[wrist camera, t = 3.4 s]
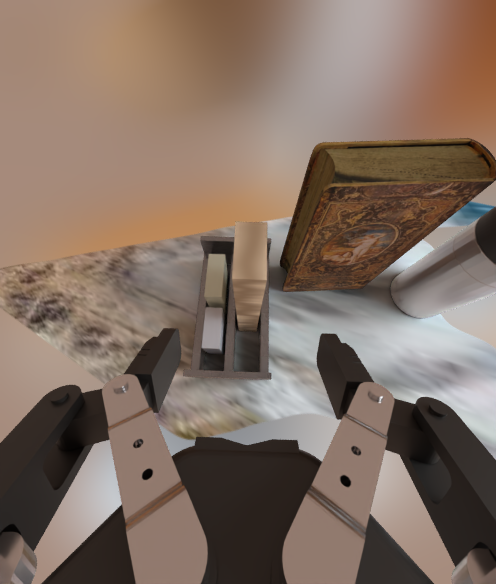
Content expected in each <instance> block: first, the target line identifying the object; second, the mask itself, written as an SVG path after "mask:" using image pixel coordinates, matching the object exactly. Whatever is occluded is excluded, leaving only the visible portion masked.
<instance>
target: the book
mask: <svg viewBox="0 0 496 584" xmlns="http://www.w3.org/2000/svg"><path fill="white" fill-rule="evenodd" d="M495 180H496V160H495V158H494V157H493V155H492V154H491V153H490V151H489V150H488V149H487V148H486V147H484V146H483V145H482V144H480V143H479V142H477V141H475V140H472V139H469V138H460V139H427V140H395V141H360V142H323V143H320V144H318V145H316V146H315V148H314V150H313V152H312V154H311V157H310V161H309V164H308V167H307V171H306V174H305V177H304V181H303V184H302V188H301V191H300V194H299V198H298V202H297V205H296V208H295V212H294V215H293V218H292V222H291V225H290V228H289V232H288V235H287V239H286V242H285V245H284V249H283V252H282V256H281V259H280V266H281V267H283V268H284V269H285V270H286V272H287V277H286V279H285V282H284V285H283V291H284V292H295V291H319V290H341V289H361V288H363V287H364V286H365V285H366V284H368V283H369V282H370V281H371V280H373V279H374V278H375V277H376V276H378V275H379V274H380V273H381V272H383V271H384V270H385V269H386V268H388V267H389V266H390V265H391V264H393V263H394V262H395V261H396V260H397V259H399V258H400V257H401V256H402V255H404V254H405V253H406V252H407V251H409V250H410V249H411V248H412V247H414V246H415V245H416V244H417V243H419V242H420V241H421V240H422V239H424V238H425V237H426V236H427V235H428V234H430V233H431V232H432V231H433V230H435V229H436V228H437V227H438V226H440V225H441V224H442V223H443V222H445V221H446V220H447V219H448V218H450V217H451V216H452V215H453V214H455V213H456V212H457V211H458V210H460V209H461V208H462V207H463V206H464V205H466V204H467V203H468V202H469V201H471V200H472V199H473V198H474V197H475V196H477V195H478V194H479V193H481V192H482V191H483V190H484V189H486V188H487V187H488V186H489V185H491V184H492V183H493V182H494V181H495Z"/></svg>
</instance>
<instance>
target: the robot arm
mask: <svg viewBox="0 0 496 584" xmlns="http://www.w3.org/2000/svg"><path fill="white" fill-rule="evenodd" d="M390 289H391V295H392V298H393V300H394V302H395V304H396V305H397V306H398V307H399V308H400V309H401V310H402V311H403V312H405V313H406V314H408V315H410V316H412V317H416V318H429V317H432V316H435V315H438V314H441V313H443V312H446V311H449V310H452V309H455V308H458V307H461V306H464V305H466V304H469V303H472V302H475V301H478V300H481V299H483V298H486V297H489V296H491V295H495V294H496V207H494V208H493V209H491V210H490V211H489V212H487V213H486V214H484V215H483V216H481V217H480V218H479V219H477V220H476V221H474V222H473V223H471V224H470V225H469V226H467V227H466V228H464V229H463V230H461V231H460V232H459V233H457V234H456V235H455V236H453V237H452V238H450V239H449V240H448V241H446V242H445V243H443V244H442V245H440V246H439V247H437V248H436V249H435V250H433V251H432V252H430V253H429V254H427V255H426V256H425V257H423V258H422V259H420V260H419V261H417V262H416V263H415V264H413V265H412V266H410V267H409V268H407V269H406V270H405V271H403V272H402V273H400V274H399V275H398V276H396V277H395V278H394V280H393V281H392V283H391V288H390ZM180 359H181V346H180V337H179V330H178V329H173V328H164V329H163V330H162V331H161V333H160V335H159V336H158V337H153V338H151V339H150V340H148V341H147V342H146V343H145V344H144V346H143V347H142V349H141V350H140V351H139V353H138V354H137V356H136V357H135V359H134V360H133V361H132V363H131V364H130V366H129V367H128V369H127V370H126V372H125V373H124V374H123V375H120V376H117V377H115V378H113V379H111V380H110V381H109V382H107V383H106V384H105V386H104V387H103V389H100V390H94V391H90V392H85V393H82V392H81V389H80V388H79V387H78V386H76V385H66V386H62V387H59V388H57V389H55V390H53V391H51V392H49V393H48V394H47V395H45V396H44V397H43V398H42V399H41V400H40V401H39V403H37V405H36V406H35V407H34V408H33V409H32V410H31V411H30V412H29V413H28V414H27V415H26V416H25V417H24V418H23V419H22V421H21V422H20V423H19V424H18V425H17V426H16V427H15V428H14V429H13V430H12V431H11V433H9V435H8V436H7V437H6V438H5V439H4V440H3V441H2V442H1V443H0V584H31V583H32V580H33V578H34V576H35V572H36V568H37V558H36V555H35V553H34V550H35V548H36V546H37V544H38V543H39V541H40V539H41V537H42V536H43V534H44V532H45V530H46V528H47V527H48V525H49V523H50V521H51V520H52V518H53V516H54V514H55V512H56V511H57V509H58V507H59V505H60V504H61V502H62V500H63V498H64V496H65V494H66V493H67V491H68V489H69V487H70V486H71V484H72V482H73V480H74V479H75V477H76V475H77V473H78V471H79V470H80V468H81V466H82V464H83V462H84V461H85V459H86V457H87V455H88V453H89V452H90V450H91V448H92V446H93V445H94V444H95V443H99V442H102V441H106V440H110V444H111V449H112V454H113V459H114V465H115V470H116V475H117V480H118V486H119V490H120V496H121V501H122V505H121V506H120V507H119V508H118V509H117V510H116V511H115V512H114V513H113V514H112V515H111V516H110V517H109V518H108V519H106V520H105V521H104V523H103V524H101V525H100V526H99V527H98V528H97V529H96V530H95V531H94V532H93V533H92V534H91V535H90V536H89V537H88V538H87V539H86V540H85V541H84V542H83V543H82V544H81V545H80V546H79V547H78V548H77V549H76V550H75V551H74V552H73V553H72V554H71V555H70V556H69V557H68V558H67V559H66V560H65V561H64V562H63V563H62V564H61V565H60V566H59V567H58V568H57V569H56V570H55V571H54V572H53V573H52V574H51V575H50V576H49V577H48V578H47V579H46V580H45V581H44V582H43V583H42V584H434V583H433V582H432V581H431V580H430V579H429V578H428V577H427V575H426V574H425V573H424V572H423V571H422V570H421V569H420V568H419V567H418V566H417V564H415V562H414V561H413V560H412V559H411V558H410V557H409V556H408V555H407V554H406V553H405V552H404V550H403V549H402V548H401V547H400V546H399V545H398V544H397V543H396V542H395V540H394V539H393V538H392V537H391V536H390V535H389V534H388V533H387V532H386V531H385V529H384V528H383V527H382V526H381V525H380V524H379V523H378V522H377V521H376V520H375V518H374V517H373V516H372V515H371V514H370V511H371V506H372V502H373V498H374V494H375V489H376V485H377V481H378V477H379V472H380V468H381V464H382V460H383V455H384V451H385V450H388V451H391V452H394V453H397V454H399V455H400V457H401V459H402V461H403V463H404V465H405V467H406V469H407V471H408V473H409V475H410V477H411V479H412V481H413V483H414V485H415V487H416V489H417V491H418V493H419V495H420V497H421V499H422V501H423V503H424V505H425V507H426V509H427V511H428V513H429V515H430V517H431V519H432V521H433V523H434V525H435V527H436V529H437V531H438V533H439V535H440V537H441V539H442V541H443V543H444V545H445V547H446V549H447V551H448V553H449V555H450V557H451V559H452V561H453V563H454V565H455V569H454V570H453V573H452V584H496V460H495V459H494V458H493V456H492V455H491V454H490V453H489V452H488V450H487V449H486V448H485V447H484V446H483V444H482V443H481V442H480V441H479V440H478V439H477V437H476V436H475V435H474V434H473V433H472V431H471V430H470V429H469V428H468V427H467V426H466V424H465V423H464V422H463V421H462V420H461V418H460V417H459V416H458V415H457V414H456V413H455V412H454V410H452V409H451V408H450V407H449V406H448V405H446V404H444V403H443V402H441V401H439V400H436V399H434V398H430V397H421V398H419V399H418V400H417V401H416V404H412V403H408V402H405V401H401V400H398V399H395V398H394V397H393V395H392V394H391V393H390V392H389V391H388V390H387V389H386V388H384V387H383V386H381V385H379V384H376V383H374V381H373V379H372V378H371V376H370V375H369V373H368V372H367V370H366V368H365V367H364V365H363V364H362V363H361V360H360V359H359V358H358V356H357V354H356V353H355V351H354V349H352V348H351V347H350V346H349V345H347V344H346V343H341V341H340V340H339V338H338V336H337V335H336V334H321V336H320V341H319V347H318V352H317V366H318V369H319V372H320V375H321V377H322V380H323V383H324V385H325V388H326V391H327V394H328V396H329V399H330V402H331V404H332V407H333V410H334V412H335V415H336V418H337V419H342V420H341V422H340V424H339V427H338V429H337V431H336V433H335V435H334V437H333V440H332V442H331V444H330V446H329V449H328V450H327V453H326V455H325V457H324V459H323V461H322V462H321V461H320V460H319V459H317V458H316V457H315V456H313V455H311V454H309V453H307V452H305V451H303V450H300V449H299V447H298V441H297V440H273V439H272V440H268V441H264V442H260V443H256V444H251V445H243V444H240V443H237V442H233V441H230V440H226V439H224V438H213V437H196V441H195V446H192V447H189V448H186V449H184V450H182V451H180V452H178V453H176V454H175V455H173V456H172V457H171V455H170V452H169V450H168V447H167V445H166V442H165V440H164V437H163V435H162V433H161V430H160V427H159V425H158V423H157V420H156V418H155V415H154V413H159V410H160V408H161V405H162V403H163V401H164V398H165V396H166V394H167V391H168V389H169V386H170V384H171V382H172V379H173V377H174V375H175V372H176V370H177V367H178V365H179V363H180Z"/></svg>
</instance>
